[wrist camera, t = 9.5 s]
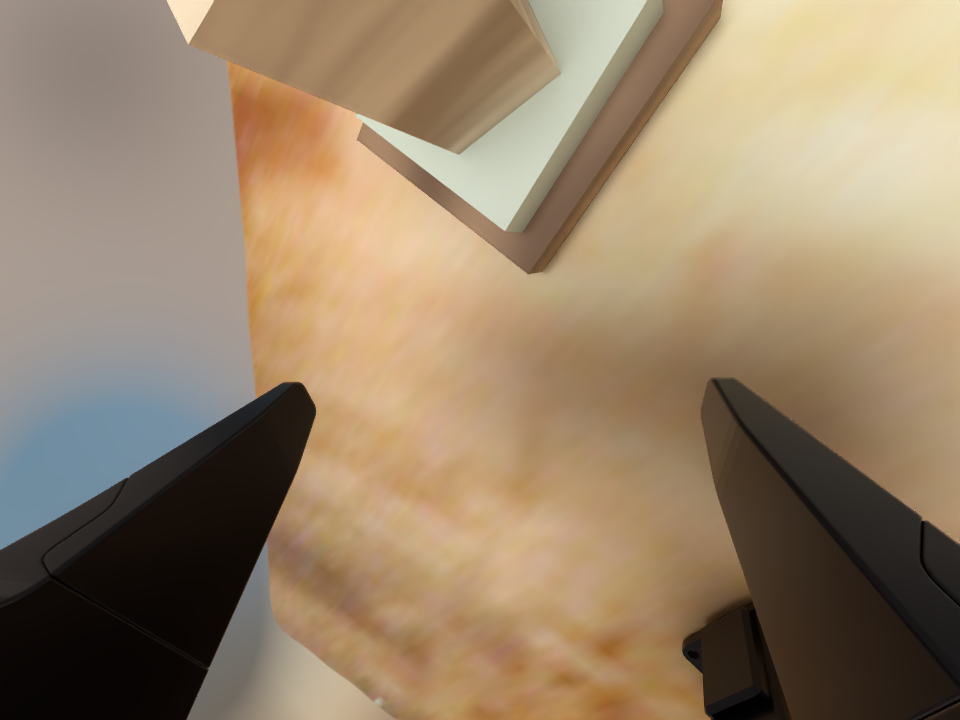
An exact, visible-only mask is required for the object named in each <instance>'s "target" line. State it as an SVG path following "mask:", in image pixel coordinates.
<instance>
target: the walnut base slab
mask: <svg viewBox="0 0 960 720" xmlns="http://www.w3.org/2000/svg"><path fill="white" fill-rule="evenodd" d="M722 2H723V0H663V10H664V13H663V14H662V16H661V17H660V19H659V20H658V22H657V24H656V25H655V27H654V28H653V30H652V31H651V33H650V35H649V36H648V38H647V39H646V41H645V42H644V44H643V45H642V47H641V49H640V50H639V52H638V53H637V55H636V56H635V58H634V60H633V61H632V63H631V64H630V66H629V67H628V69H627V70H626V72H625V74H624V75H623V77H622V78H621V80H620V81H619V83H618V85H617V86H616V88H615V89H614V91H613V92H612V94H611V95H610V97H609V99H608V100H607V102H606V103H605V105H604V106H603V108H602V109H601V111H600V113H599V114H598V116H597V117H596V119H595V120H594V122H593V124H592V125H591V127H590V128H589V130H588V131H587V133H586V134H585V136H584V138H583V139H582V141H581V142H580V144H579V145H578V147H577V149H576V150H575V152H574V153H573V155H572V156H571V158H570V159H569V161H568V163H567V164H566V166H565V167H564V169H563V170H562V172H561V173H560V175H559V177H558V178H557V180H556V181H555V183H554V184H553V186H552V188H551V189H550V191H549V192H548V194H547V195H546V197H545V198H544V200H543V202H542V203H541V205H540V206H539V208H538V209H537V211H536V213H535V214H534V216H533V217H532V219H531V220H530V222H529V223H528V225H527V227H526V228H525V230H524V231H523V233H519V232H507V231H504V230H503V229H501V228H500V227H499V226H497V225H496V224H495V223H493V222H492V221H491V220H490V219H488V218H487V217H486V216H484V215H483V214H482V213H480V212H479V211H478V210H477V209H475V208H474V207H473V206H471V205H470V204H469V203H467V202H466V201H465V200H464V199H462V198H461V197H460V196H458V195H457V194H456V193H454V192H453V191H452V190H451V189H449V188H448V187H447V186H445V185H444V184H443V183H441V182H440V181H439V180H438V179H436V178H435V177H434V176H432V175H431V174H430V173H428V172H427V171H426V170H425V169H423V168H422V167H421V166H419V165H418V164H417V163H415V162H414V161H413V160H412V159H410V158H409V157H408V156H406V155H405V154H404V153H402V152H401V151H400V150H399V149H397V148H396V147H395V146H393V145H392V144H391V143H389V142H388V141H387V140H386V139H384V138H383V137H382V136H380V135H379V134H378V133H376V132H375V131H374V130H373V129H371V128H370V127H369V126H367V125H366V124H365V123H363V125H362V127H361V130H360V133H359V135H358V138H357V140H358V141H359V142H361V143H362V144H363V145H364V146H366V147H367V148H368V149H369V150H371V151H372V152H373V153H375V154H376V155H377V156H378V157H380V158H381V159H382V160H383V161H385V162H386V163H387V164H389V165H390V166H391V167H392V168H394V169H395V170H396V171H397V172H399V173H400V174H401V175H403V176H404V177H405V178H406V179H408V180H409V181H410V182H412V183H413V184H414V185H415V186H417V187H418V188H419V189H420V190H422V191H423V192H424V193H426V194H427V195H428V196H429V197H431V198H432V199H433V200H434V201H436V202H437V203H438V204H440V205H441V206H442V207H443V208H445V209H446V210H447V211H448V212H450V213H451V214H452V215H454V216H455V217H456V218H457V219H459V220H460V221H461V222H463V223H464V224H465V225H466V226H468V227H469V228H470V229H471V230H473V231H474V232H475V233H477V234H478V235H479V236H480V237H482V238H483V239H484V240H485V241H487V242H488V243H489V244H491V245H492V246H493V247H494V248H496V249H497V250H498V251H499V252H501V253H502V254H503V255H505V256H506V257H507V258H508V259H510V260H511V261H512V262H514V263H515V264H516V265H517V266H519V267H520V268H521V269H522V270H524V271H525V272H526V273H528V274H532V273H538V272H542V271H543V270H544V268H545V267H546V265H547V264H548V262H549V261H550V260H551V258H552V257H553V255H554V254H555V252H556V251H557V250H558V248H559V247H560V245H561V244H562V242H563V241H564V240H565V238H566V237H567V235H568V234H569V233H570V231H571V230H572V228H573V227H574V225H575V224H576V223H577V221H578V220H579V218H580V217H581V215H582V214H583V213H584V211H585V210H586V208H587V207H588V205H589V204H590V203H591V201H592V200H593V198H594V197H595V195H596V194H597V193H598V191H599V190H600V188H601V187H602V185H603V184H604V183H605V181H606V180H607V178H608V177H609V175H610V174H611V173H612V171H613V170H614V168H615V167H616V165H617V164H618V163H619V161H620V160H621V158H622V157H623V155H624V154H625V153H626V151H627V150H628V148H629V147H630V145H631V144H632V143H633V141H634V140H635V138H636V137H637V135H638V134H639V133H640V131H641V130H642V128H643V127H644V125H645V124H646V123H647V121H648V120H649V118H650V117H651V115H652V114H653V113H654V111H655V110H656V108H657V107H658V106H659V104H660V103H661V101H662V100H663V98H664V97H665V96H666V94H667V93H668V91H669V90H670V88H671V87H672V86H673V84H674V83H675V81H676V80H677V78H678V77H679V76H680V74H681V73H682V71H683V70H684V68H685V67H686V66H687V64H688V63H689V61H690V60H691V58H692V57H693V56H694V54H695V53H696V51H697V50H698V48H699V47H700V46H701V44H702V43H703V41H704V40H705V38H706V37H707V36H708V34H709V33H710V31H711V30H712V28H713V27H714V26H715V24H716V23H717V21H718V20H719V18H720V14H721V8H722Z"/></svg>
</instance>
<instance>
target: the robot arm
mask: <svg viewBox="0 0 960 720" xmlns="http://www.w3.org/2000/svg"><path fill="white" fill-rule="evenodd" d="M315 416H316V407H315V404H314V402H313V401H312V399H311V397H310V395H309V393H308V392H307V390H306V388H305V386H304V385H303V384H302V383H300V382H284V383H282V384H280V385H278V386H277V387H275V388H273V389H272V390H270V391H268V392H267V393H265V394H263V395H262V396H260V397H259V398H257V399H255V400H254V401H252V402H250V403H249V404H247V405H245V406H244V407H242V408H240V409H239V410H237V411H236V412H234V413H232V414H231V415H229V416H227V417H226V418H224V419H222V420H221V421H219V422H217V423H216V424H214V425H212V426H211V427H209V428H208V429H206V430H204V431H203V432H201V433H199V434H198V435H196V436H194V437H193V438H191V439H189V440H188V441H186V442H185V443H183V444H181V445H180V446H178V447H176V448H175V449H173V450H171V451H170V452H168V453H166V454H165V455H163V456H161V457H160V458H158V459H157V460H155V461H153V462H152V463H150V464H148V465H147V466H145V467H143V468H142V469H140V470H139V471H137V472H135V473H134V474H132V475H131V476H130V477H129V478H125V479H123V480H122V481H120V482H119V483H117V484H115V485H114V486H112V487H110V488H109V489H107V490H105V491H104V492H102V493H100V494H99V495H97V496H95V497H94V498H92V499H90V500H88V501H87V502H85V503H83V504H82V505H80V506H78V507H77V508H75V509H73V510H71V511H69V512H68V513H66V514H64V515H62V516H61V517H59V518H57V519H56V520H54V521H52V522H50V523H48V524H46V525H45V526H43V527H41V528H39V529H37V530H36V531H34V532H32V533H30V534H28V535H26V536H25V537H23V538H21V539H19V540H17V541H16V542H14V543H12V544H10V545H8V546H7V547H5V548H3V549H1V550H0V720H187V717H188V715H189V713H190V711H191V708H192V706H193V704H194V701H195V699H196V697H197V695H198V693H199V690H200V688H201V686H202V684H203V682H204V679H205V677H206V675H207V673H208V670H209V669H208V668H209V667H210V665H211V663H212V661H213V658H214V656H215V654H216V652H217V649H218V647H219V645H220V643H221V641H222V638H223V636H224V634H225V631H226V629H227V627H228V625H229V622H230V620H231V618H232V616H233V614H234V611H235V609H236V607H237V605H238V602H239V600H240V598H241V596H242V594H243V591H244V589H245V587H246V585H247V582H248V580H249V578H250V576H251V573H252V571H253V569H254V567H255V564H256V562H257V560H258V558H259V555H260V553H261V551H262V549H263V547H264V544H265V542H266V540H267V538H268V535H269V533H270V531H271V529H272V526H273V524H274V522H275V520H276V517H277V515H278V513H279V511H280V509H281V506H282V504H283V502H284V500H285V497H286V495H287V493H288V491H289V488H290V486H291V484H292V482H293V479H294V477H295V475H296V472H297V470H298V467H299V464H300V461H301V458H302V455H303V452H304V449H305V446H306V443H307V440H308V437H309V434H310V431H311V428H312V425H313V422H314V419H315ZM701 419H702V424H703V429H704V434H705V439H706V444H707V449H708V455H709V460H710V465H711V470H712V475H713V479H714V484H715V488H716V492H717V495H718V498H719V502H720V505H721V508H722V510H723V513H724V516H725V519H726V522H727V525H728V528H729V531H730V534H731V537H732V540H733V543H734V546H735V549H736V552H737V555H738V558H739V561H740V564H741V567H742V570H743V573H744V576H745V579H746V582H747V585H748V588H749V591H750V594H751V597H752V600H753V602H752V603H750V604H749V605H747V606H745V607H743V608H738V609H736V610H735V611H733V612H731V613H729V614H728V615H726V616H724V617H722V618H720V619H719V620H717V621H715V622H713V623H712V624H710V625H708V626H706V627H704V628H703V629H701V631H700V632H699V633H697V634H695V635H693V636H691V637H690V638H688V639H686V640H685V641H684V642H683V645H682V652H683V655H684V656H685V658H686V659H687V660H688V661H690V662H691V663H692V664H693V665H694V666H695V667H696V668H697V669H698V670H699V671H700V672H701V673H702V674H703V691H704V709H705V714H707V715H708V716H709V717H710V718H711V720H960V544H959V543H957V542H956V541H954V540H953V539H952V538H950V537H949V536H948V535H946V534H945V533H944V532H942V531H941V530H940V529H938V528H937V527H935V526H934V525H933V524H931V523H930V522H929V521H922V517H921V516H920V515H919V514H918V513H916V512H915V511H914V510H912V509H911V508H910V507H908V506H907V505H905V504H904V503H903V502H901V501H900V500H899V499H897V498H896V497H895V496H893V495H892V494H891V493H889V492H888V491H887V490H885V489H884V488H883V487H881V486H880V485H878V484H877V483H876V482H874V481H873V480H872V479H870V478H869V477H868V476H866V475H865V474H864V473H862V472H861V471H860V470H858V469H857V468H856V467H854V466H853V465H852V464H850V463H849V462H847V461H846V460H845V459H843V458H842V457H841V456H839V455H838V454H837V453H835V452H834V451H833V450H831V449H830V448H829V447H827V446H826V445H825V444H823V443H822V442H820V441H819V440H818V439H816V438H815V437H814V436H812V435H811V434H810V433H808V432H807V431H806V430H804V429H803V428H802V427H800V426H799V425H798V424H796V423H795V422H793V421H792V420H791V419H789V418H788V417H787V416H785V415H784V414H783V413H781V412H780V411H779V410H777V409H776V408H775V407H773V406H772V405H771V404H769V403H768V402H766V401H765V400H764V399H762V398H761V397H760V396H758V395H757V394H756V393H754V392H753V391H752V390H750V389H749V388H748V387H746V386H745V385H744V384H742V383H741V382H739V381H738V380H737V379H735V378H731V377H714V378H711V379H710V380H709V381H708V383H707V387H706V391H705V395H704V399H703V403H702V407H701ZM691 650H694V651H696V652H693V651H691Z"/></svg>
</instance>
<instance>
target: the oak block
mask: <svg viewBox="0 0 960 720" xmlns="http://www.w3.org/2000/svg"><path fill="white" fill-rule="evenodd" d="M167 2H168V4H169V6H170V8H171V10H172V12H173V14H174V16H175V18H176V20H177V22H178V24H179V26H180V28H181V31H182V32H183V35H184V37H185V39H186V40H187V43H188V45H191V46H193V47H196V48H198V49H201V50H203V51H206V52H208V53H211V54H213V55H215V56H218V57H220V58H223V59H225V60H228V61H230V62H232V63H235V64H237V65H240V66H242V67H245V68H247V69H250V70H252V71H255V72H257V73H259V74H262V75H264V76H267V77H269V78H272V79H274V80H277V81H279V82H281V83H284V84H286V85H289V86H291V87H294V88H296V89H299V90H301V91H304V92H306V93H308V94H311V95H313V96H316V97H318V98H321V99H323V100H326V101H328V102H330V103H333V104H335V105H338V106H340V107H343V108H345V109H348V110H350V111H352V112H355V113H357V114H360V115H362V116H365V117H367V118H370V119H372V120H375V121H377V122H379V123H382V124H384V125H387V126H389V127H392V128H394V129H397V130H399V131H401V132H404V133H406V134H409V135H411V136H414V137H416V138H419V139H421V140H424V141H426V142H428V143H431V144H433V145H436V146H438V147H441V148H443V149H446V150H448V151H450V152H453V153H455V154H458V155H459V154H460V153H462V152H463V151H464V150H465V149H467V148H468V147H469V146H471V145H472V144H473V143H474V142H476V141H477V140H478V139H479V138H481V137H482V136H483V135H484V134H486V133H487V132H488V131H489V130H491V129H492V128H493V127H494V126H496V125H497V124H498V123H500V122H501V121H502V120H503V119H505V118H506V117H507V116H508V115H510V114H511V113H512V112H513V111H515V110H516V109H517V108H518V107H520V106H521V105H522V104H524V103H525V102H526V101H527V100H529V99H530V98H531V97H532V96H534V95H535V94H536V93H537V92H539V91H540V90H541V89H542V88H544V87H545V86H546V85H548V84H549V83H550V82H551V81H553V80H554V79H555V78H556V77H558V76H559V75H560V74H561V71H560V69H559V67H558V65H557V63H556V60H555V58H554V56H553V54H552V52H551V49H550V47H549V45H548V43H547V41H546V38H545V36H544V34H543V32H542V30H541V28H540V25H539V23H538V21H537V19H536V17H535V14H534V12H533V10H532V8H531V6H530V3H529V1H528V0H167Z"/></svg>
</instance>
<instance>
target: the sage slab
mask: <svg viewBox="0 0 960 720" xmlns="http://www.w3.org/2000/svg"><path fill="white" fill-rule="evenodd" d="M528 1H529V3H530V6H531V8H532V10H533V12H534V14H535V17H536V19H537V21H538V23H539V25H540V28H541V30H542V32H543V34H544V36H545V38H546V41H547V43H548V45H549V47H550V49H551V52H552V54H553V56H554V58H555V60H556V63H557V65H558V67H559V69H560V71H561V74H560V75H559V76H558V77H556V78H555V79H554V80H553V81H551V82H550V83H549V84H548V85H546V86H545V87H544V88H542V89H541V90H540V91H539V92H537V93H536V94H535V95H534V96H532V97H531V98H530V99H529V100H527V101H526V102H525V103H524V104H522V105H521V106H520V107H518V108H517V109H516V110H515V111H513V112H512V113H511V114H510V115H508V116H507V117H506V118H505V119H503V120H502V121H501V122H500V123H498V124H497V125H496V126H494V127H493V128H492V129H491V130H489V131H488V132H487V133H486V134H484V135H483V136H482V137H481V138H479V139H478V140H477V141H476V142H474V143H473V144H472V145H471V146H469V147H468V148H467V149H465V150H464V151H463V152H462V153H460V154H459V155H458V154H455V153H453V152H450V151H448V150H446V149H443V148H441V147H438V146H436V145H433V144H431V143H428V142H426V141H424V140H421V139H419V138H416V137H414V136H411V135H409V134H406V133H404V132H401V131H399V130H397V129H394V128H392V127H389V126H387V125H384V124H382V123H379V122H377V121H375V120H372V119H370V118H367V117H365V116H362V115H360V114H357V113H356V115H355V116H356V117H357V118H358V119H360V120H361V121H362V122H363V123H365V124H366V125H367V126H369V127H370V128H371V129H373V130H374V131H375V132H376V133H378V134H379V135H380V136H382V137H383V138H384V139H386V140H387V141H388V142H389V143H391V144H392V145H393V146H395V147H396V148H397V149H399V150H400V151H401V152H402V153H404V154H405V155H406V156H408V157H409V158H410V159H412V160H413V161H414V162H415V163H417V164H418V165H419V166H421V167H422V168H423V169H425V170H426V171H427V172H428V173H430V174H431V175H432V176H434V177H435V178H436V179H438V180H439V181H440V182H441V183H443V184H444V185H445V186H447V187H448V188H449V189H451V190H452V191H453V192H454V193H456V194H457V195H458V196H460V197H461V198H462V199H464V200H465V201H466V202H467V203H469V204H470V205H471V206H473V207H474V208H475V209H477V210H478V211H479V212H480V213H482V214H483V215H484V216H486V217H487V218H488V219H490V220H491V221H492V222H493V223H495V224H496V225H497V226H499V227H500V228H501V229H503V230H504V231H507V232H519V233H523V231H524V230H525V228H526V227H527V225H528V223H529V222H530V220H531V219H532V217H533V216H534V214H535V213H536V211H537V209H538V208H539V206H540V205H541V203H542V202H543V200H544V198H545V197H546V195H547V194H548V192H549V191H550V189H551V188H552V186H553V184H554V183H555V181H556V180H557V178H558V177H559V175H560V173H561V172H562V170H563V169H564V167H565V166H566V164H567V163H568V161H569V159H570V158H571V156H572V155H573V153H574V152H575V150H576V149H577V147H578V145H579V144H580V142H581V141H582V139H583V138H584V136H585V134H586V133H587V131H588V130H589V128H590V127H591V125H592V124H593V122H594V120H595V119H596V117H597V116H598V114H599V113H600V111H601V109H602V108H603V106H604V105H605V103H606V102H607V100H608V99H609V97H610V95H611V94H612V92H613V91H614V89H615V88H616V86H617V85H618V83H619V81H620V80H621V78H622V77H623V75H624V74H625V72H626V70H627V69H628V67H629V66H630V64H631V63H632V61H633V60H634V58H635V56H636V55H637V53H638V52H639V50H640V49H641V47H642V45H643V44H644V42H645V41H646V39H647V38H648V36H649V35H650V33H651V31H652V30H653V28H654V27H655V25H656V24H657V22H658V20H659V19H660V17H661V16H662V14H663V13H664V10H663V0H528Z"/></svg>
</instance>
